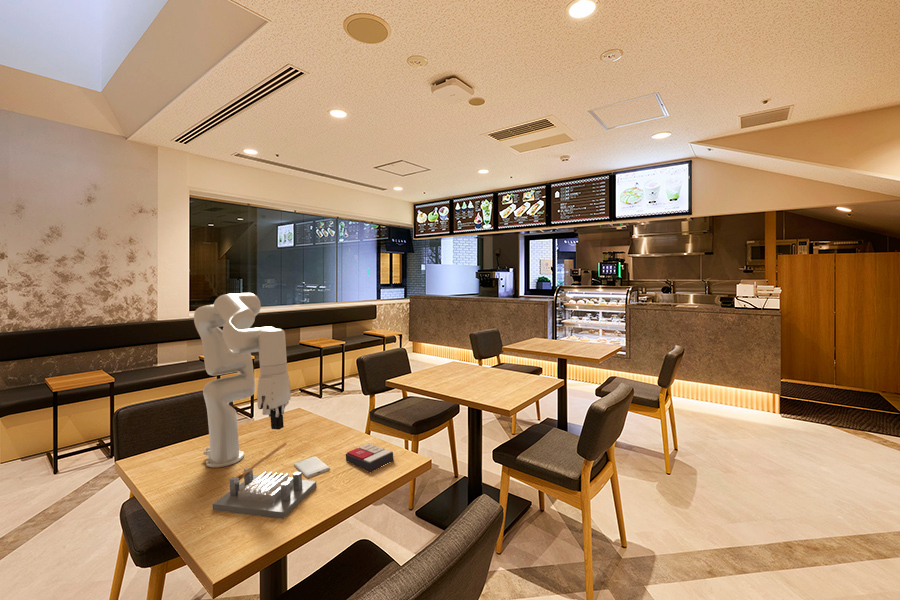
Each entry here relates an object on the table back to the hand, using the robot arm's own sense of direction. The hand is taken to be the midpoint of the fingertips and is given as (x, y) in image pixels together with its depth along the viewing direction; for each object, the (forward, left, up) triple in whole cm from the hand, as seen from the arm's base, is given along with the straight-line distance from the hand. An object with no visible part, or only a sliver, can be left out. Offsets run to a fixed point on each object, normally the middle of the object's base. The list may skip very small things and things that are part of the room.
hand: (277, 428), depth 118 cm
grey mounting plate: (-5, 0, -23) cm, 23 cm away
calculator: (+17, +29, -23) cm, 40 cm away
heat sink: (-5, 0, -21) cm, 21 cm away
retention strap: (-6, 0, -12) cm, 13 cm away
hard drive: (-2, +20, -24) cm, 31 cm away
